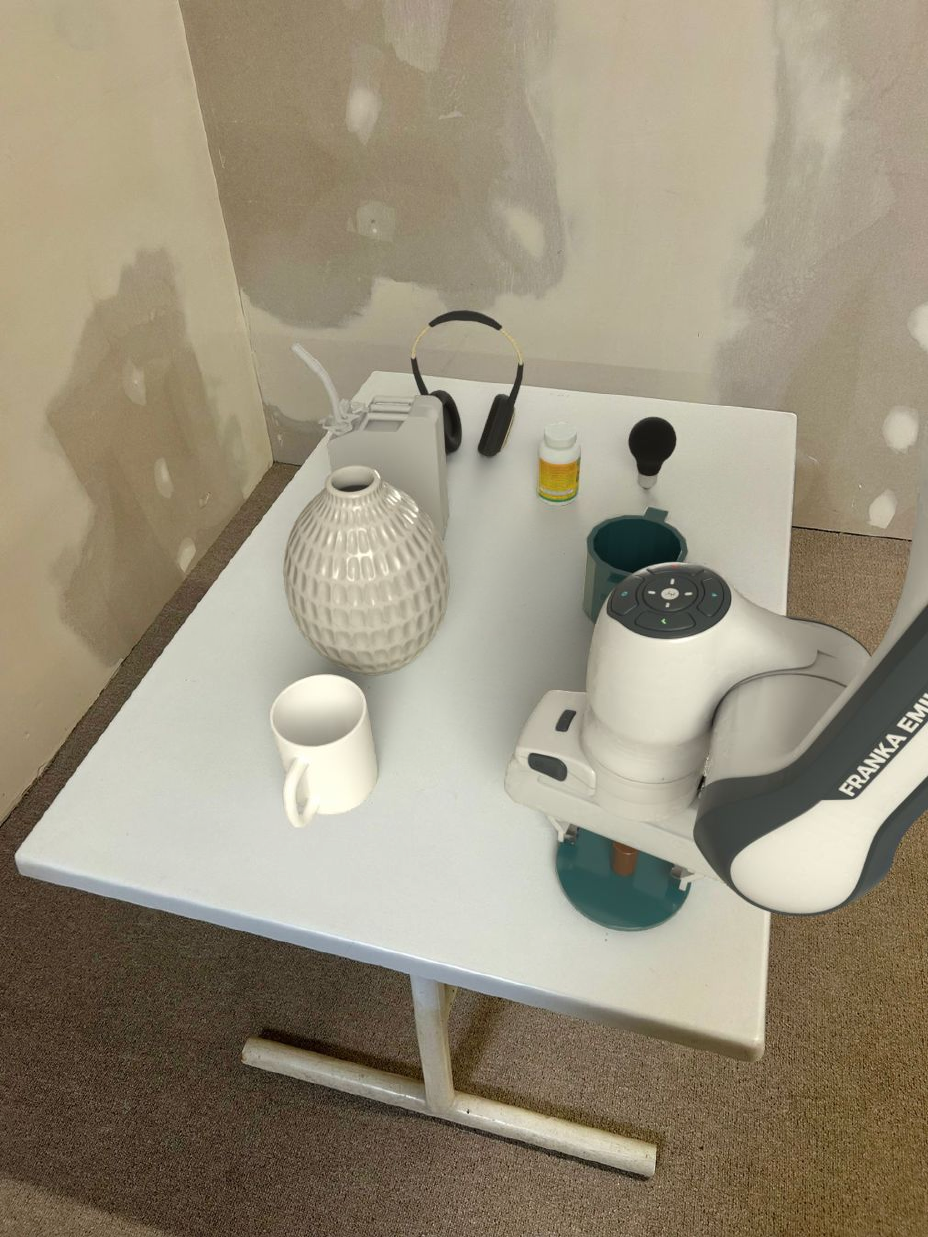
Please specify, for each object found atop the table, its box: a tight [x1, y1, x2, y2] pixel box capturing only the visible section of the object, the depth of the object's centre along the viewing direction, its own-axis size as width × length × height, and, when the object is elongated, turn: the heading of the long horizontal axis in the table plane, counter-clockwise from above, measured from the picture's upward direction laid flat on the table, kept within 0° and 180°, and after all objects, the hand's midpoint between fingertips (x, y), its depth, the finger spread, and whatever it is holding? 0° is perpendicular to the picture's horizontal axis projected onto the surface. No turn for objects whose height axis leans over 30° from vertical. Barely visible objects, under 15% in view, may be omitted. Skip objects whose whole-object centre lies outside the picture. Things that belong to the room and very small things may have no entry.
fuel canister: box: [289, 341, 450, 541], centre depth 100 cm, size 15×5×25 cm, turn 82°
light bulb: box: [627, 416, 678, 490], centre depth 109 cm, size 6×6×10 cm
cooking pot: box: [581, 506, 689, 625], centre depth 94 cm, size 10×16×8 cm, turn 154°
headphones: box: [410, 309, 525, 458], centre depth 113 cm, size 9×15×20 cm, turn 79°
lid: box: [555, 828, 692, 933], centre depth 71 cm, size 11×11×5 cm
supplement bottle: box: [536, 421, 582, 507], centre depth 109 cm, size 5×5×10 cm
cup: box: [269, 673, 379, 829], centre depth 76 cm, size 8×12×10 cm
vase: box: [282, 465, 451, 676], centre depth 85 cm, size 16×16×22 cm
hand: (622, 858), depth 71 cm, fingers open, 8 cm apart
